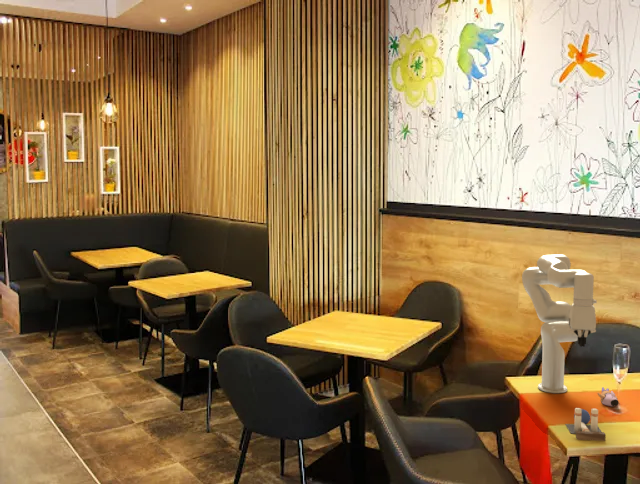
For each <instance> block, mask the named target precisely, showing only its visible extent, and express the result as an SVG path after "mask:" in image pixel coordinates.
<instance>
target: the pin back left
mask: <svg viewBox="0 0 640 484" xmlns="http://www.w3.org/2000/svg"><path fill="white" fill-rule="evenodd" d="M590 410H591V411H590V425H591V432H597V428H598V427H599V426H598V424H599V409H597V408H591V409H590Z"/></svg>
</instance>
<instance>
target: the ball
mask: <svg viewBox="0 0 640 484" xmlns="http://www.w3.org/2000/svg"><path fill="white" fill-rule="evenodd" d="M581 409H582V416H581V422H583V423H584V424H585V425H588V424H589V423H590V422H591V413H589V411H588V410H586V409H583V408H581ZM573 420H575V413H574V414H573Z"/></svg>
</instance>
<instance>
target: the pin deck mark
mask: <svg viewBox="0 0 640 484" xmlns="http://www.w3.org/2000/svg"><path fill="white" fill-rule="evenodd" d="M564 425H565V426H566V429H567V430H568V431H569V433H570V434H571V435H576V432H575V431H574V423H565V424H564ZM585 425H586V427H587V428H588V429H589V431H590V432H591V424H585ZM597 432H603V431H602V430H601V429H600V427H599V426H598V428H597Z"/></svg>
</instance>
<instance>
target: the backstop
mask: <svg viewBox="0 0 640 484" xmlns="http://www.w3.org/2000/svg"><path fill="white" fill-rule="evenodd" d="M606 434H607V433H605V432H604V431H602V432H587V431H576V434H575V438H576V440H578V441H579V440H580V441H600V442H603V441H604V442H605V441H606V437H607V436H606Z"/></svg>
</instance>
